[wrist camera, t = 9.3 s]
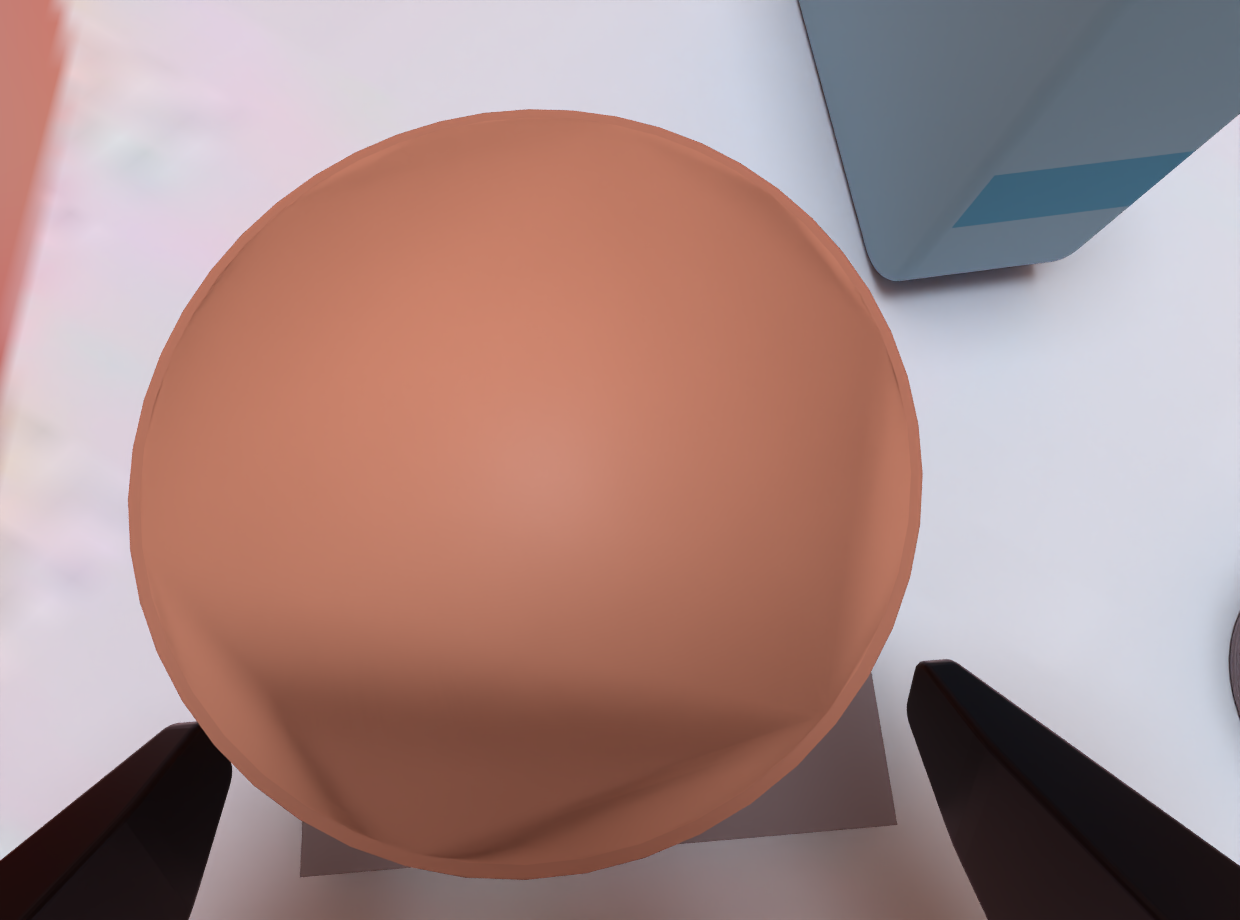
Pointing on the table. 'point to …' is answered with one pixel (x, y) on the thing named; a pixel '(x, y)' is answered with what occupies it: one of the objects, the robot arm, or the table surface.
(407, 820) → the terracotta canister
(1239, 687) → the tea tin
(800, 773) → the charcoal mat
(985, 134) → the data package
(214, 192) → the table surface
